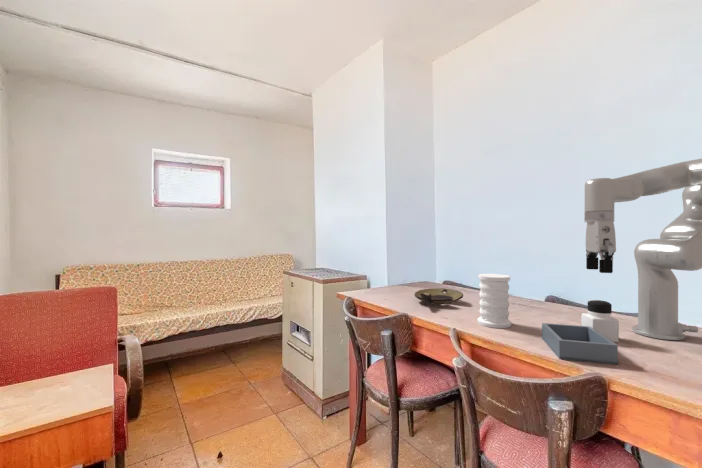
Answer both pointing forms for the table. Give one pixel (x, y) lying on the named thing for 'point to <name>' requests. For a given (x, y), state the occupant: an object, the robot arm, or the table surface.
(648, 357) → the table surface
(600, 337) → the bin
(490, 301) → the decorative container
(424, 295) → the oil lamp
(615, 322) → the medicine bottle
